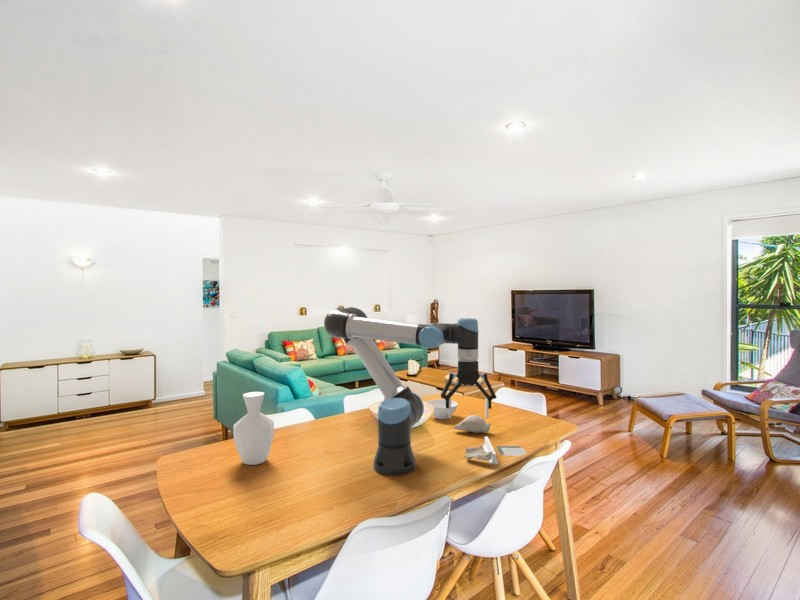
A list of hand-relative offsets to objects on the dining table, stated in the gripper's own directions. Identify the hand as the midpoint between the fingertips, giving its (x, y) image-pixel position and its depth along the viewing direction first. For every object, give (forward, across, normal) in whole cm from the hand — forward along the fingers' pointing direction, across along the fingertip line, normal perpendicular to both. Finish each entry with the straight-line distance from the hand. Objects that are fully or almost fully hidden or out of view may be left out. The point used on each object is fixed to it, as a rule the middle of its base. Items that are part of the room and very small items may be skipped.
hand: (468, 417), depth 146 cm
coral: (+16, 0, 0) cm, 16 cm away
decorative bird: (+18, 0, +30) cm, 35 cm away
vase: (+16, -80, -3) cm, 82 cm away
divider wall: (+16, +9, +6) cm, 19 cm away
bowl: (+16, -7, +54) cm, 57 cm away
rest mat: (+16, +19, +9) cm, 26 cm away
